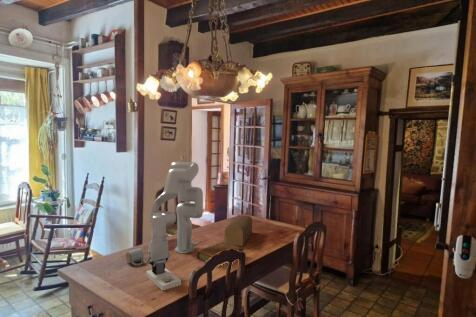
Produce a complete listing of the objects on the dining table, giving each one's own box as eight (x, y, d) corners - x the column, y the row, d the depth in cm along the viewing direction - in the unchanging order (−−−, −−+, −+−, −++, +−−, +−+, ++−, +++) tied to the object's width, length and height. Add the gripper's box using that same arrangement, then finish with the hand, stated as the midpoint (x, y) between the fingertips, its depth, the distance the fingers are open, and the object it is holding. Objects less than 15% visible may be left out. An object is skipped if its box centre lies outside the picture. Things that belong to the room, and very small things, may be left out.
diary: (222, 250, 205) (222, 241, 205) (243, 257, 193) (244, 248, 192) (196, 259, 188) (196, 250, 187) (218, 268, 175) (218, 258, 175)
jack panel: (163, 271, 169) (163, 266, 169) (181, 284, 154) (181, 280, 153) (146, 275, 163) (146, 271, 162) (162, 290, 147) (162, 285, 147)
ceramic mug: (125, 261, 180) (125, 249, 179) (138, 258, 186) (138, 246, 185) (132, 268, 172) (132, 254, 172) (146, 264, 178) (146, 251, 177)
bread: (252, 232, 242) (252, 215, 241) (243, 247, 209) (243, 227, 208) (235, 231, 246) (235, 213, 245) (223, 245, 213) (224, 225, 212)
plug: (160, 274, 165) (160, 257, 165) (163, 276, 162) (163, 260, 161) (153, 276, 163) (153, 259, 162) (156, 278, 160) (156, 262, 159)
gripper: (170, 233, 169) (169, 265, 170) (140, 239, 159) (140, 273, 160) (176, 237, 163) (176, 270, 165) (146, 243, 153) (146, 278, 154)
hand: (158, 271), depth 162 cm, fingers closed on plug, 4 cm apart
